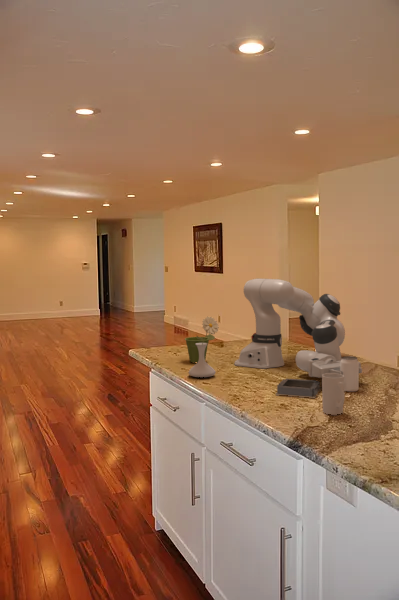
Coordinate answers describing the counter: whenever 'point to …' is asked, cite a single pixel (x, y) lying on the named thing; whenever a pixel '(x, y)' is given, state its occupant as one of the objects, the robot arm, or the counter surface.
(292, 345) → the counter surface
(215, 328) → the flower in vase
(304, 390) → the socket block
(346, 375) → the can
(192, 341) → the plant pot
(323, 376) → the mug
